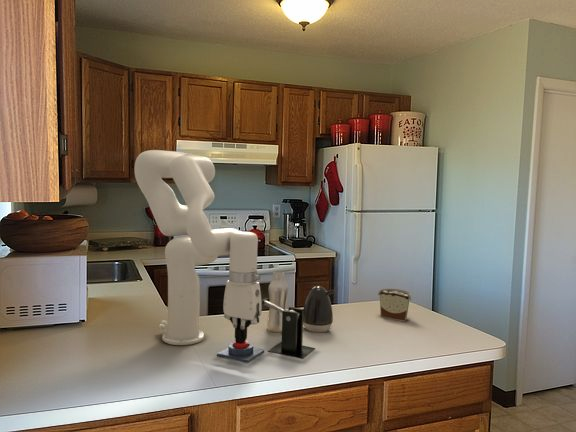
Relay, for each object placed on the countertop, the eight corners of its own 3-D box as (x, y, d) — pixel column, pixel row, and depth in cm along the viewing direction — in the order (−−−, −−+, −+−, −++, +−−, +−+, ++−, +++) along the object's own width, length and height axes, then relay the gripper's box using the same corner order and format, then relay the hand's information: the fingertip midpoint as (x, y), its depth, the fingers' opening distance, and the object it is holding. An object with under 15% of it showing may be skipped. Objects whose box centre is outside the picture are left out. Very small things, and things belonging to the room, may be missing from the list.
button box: (216, 359, 132) (216, 346, 131) (234, 349, 140) (234, 337, 139) (248, 366, 127) (248, 353, 127) (264, 355, 135) (264, 343, 135)
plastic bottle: (276, 327, 160) (278, 269, 159) (291, 333, 155) (293, 272, 154) (262, 331, 156) (264, 271, 154) (276, 337, 151) (278, 274, 149)
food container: (414, 318, 176) (416, 291, 175) (409, 322, 171) (410, 295, 170) (383, 312, 183) (384, 286, 182) (376, 316, 177) (378, 289, 177)
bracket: (267, 354, 136) (268, 310, 135) (281, 345, 144) (282, 303, 143) (302, 362, 131) (304, 316, 130) (315, 352, 140) (316, 309, 138)
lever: (256, 306, 139) (258, 299, 138) (265, 302, 144) (267, 295, 143) (291, 324, 134) (294, 316, 134) (299, 319, 139) (302, 312, 139)
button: (231, 348, 132) (231, 342, 132) (238, 344, 136) (238, 338, 136) (243, 351, 131) (243, 345, 131) (250, 346, 134) (251, 340, 134)
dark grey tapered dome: (331, 337, 152) (333, 290, 151) (299, 334, 154) (300, 288, 153) (334, 328, 162) (336, 283, 161) (304, 325, 164) (305, 281, 163)
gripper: (273, 278, 132) (270, 342, 133) (227, 271, 138) (225, 332, 140) (259, 283, 125) (257, 351, 127) (212, 275, 131) (210, 340, 133)
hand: (240, 341), depth 133 cm, fingers closed
